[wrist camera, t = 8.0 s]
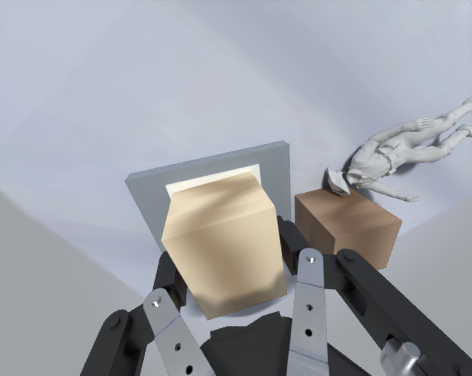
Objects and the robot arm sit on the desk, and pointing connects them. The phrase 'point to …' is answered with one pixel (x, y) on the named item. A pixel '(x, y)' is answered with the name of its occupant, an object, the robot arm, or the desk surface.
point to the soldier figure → (400, 152)
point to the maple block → (226, 244)
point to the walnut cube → (346, 224)
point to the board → (208, 170)
